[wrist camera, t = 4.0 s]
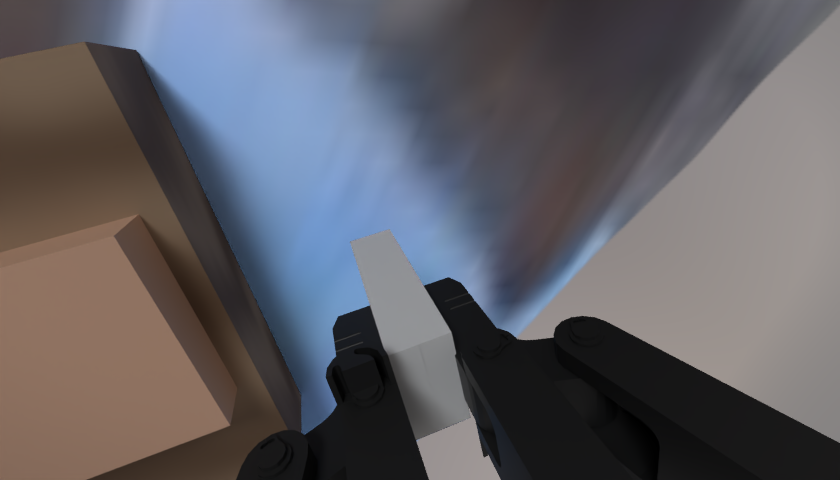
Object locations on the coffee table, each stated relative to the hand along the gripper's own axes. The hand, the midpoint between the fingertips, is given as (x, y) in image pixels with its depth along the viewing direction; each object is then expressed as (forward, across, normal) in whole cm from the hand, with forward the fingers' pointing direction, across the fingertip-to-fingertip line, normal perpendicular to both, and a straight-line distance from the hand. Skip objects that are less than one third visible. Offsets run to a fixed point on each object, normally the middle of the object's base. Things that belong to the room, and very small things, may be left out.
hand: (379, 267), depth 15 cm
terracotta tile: (+1, -11, 0) cm, 11 cm away
